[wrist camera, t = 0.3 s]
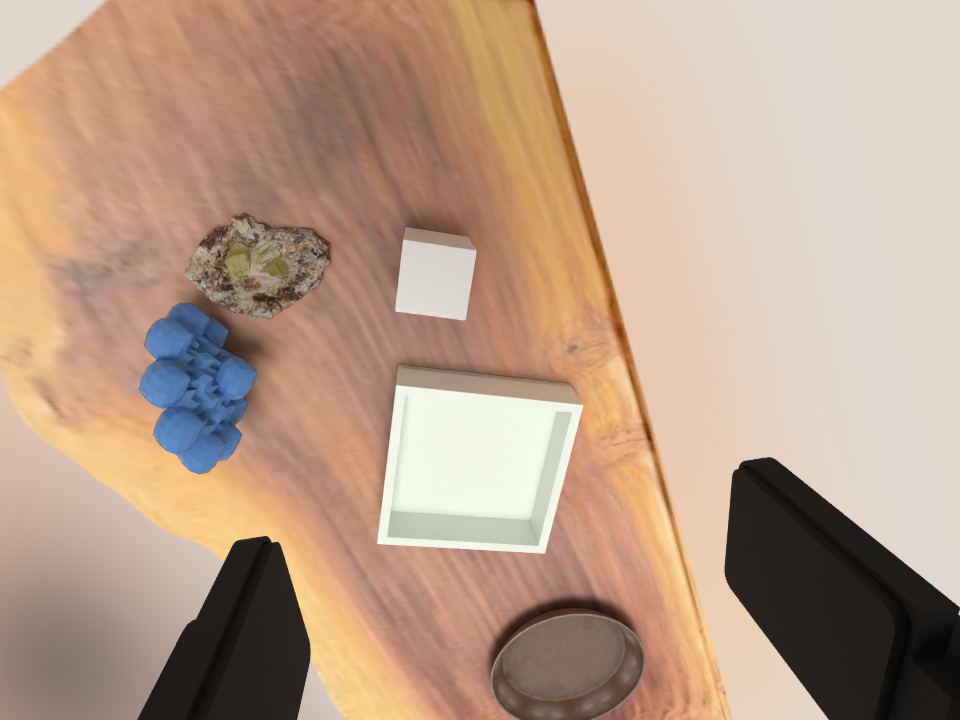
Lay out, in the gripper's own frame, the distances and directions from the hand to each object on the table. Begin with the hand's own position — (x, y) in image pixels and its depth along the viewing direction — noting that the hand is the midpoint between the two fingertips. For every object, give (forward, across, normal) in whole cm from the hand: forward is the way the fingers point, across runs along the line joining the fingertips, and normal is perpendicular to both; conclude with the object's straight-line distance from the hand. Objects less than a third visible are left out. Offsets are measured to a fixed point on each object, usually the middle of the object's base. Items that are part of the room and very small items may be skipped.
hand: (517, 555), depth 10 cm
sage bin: (+34, -1, +18) cm, 38 cm away
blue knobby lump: (+34, +18, +5) cm, 39 cm away
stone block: (+34, +1, 0) cm, 34 cm away
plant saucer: (+35, -8, +46) cm, 59 cm away
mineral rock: (+34, +14, -2) cm, 37 cm away
